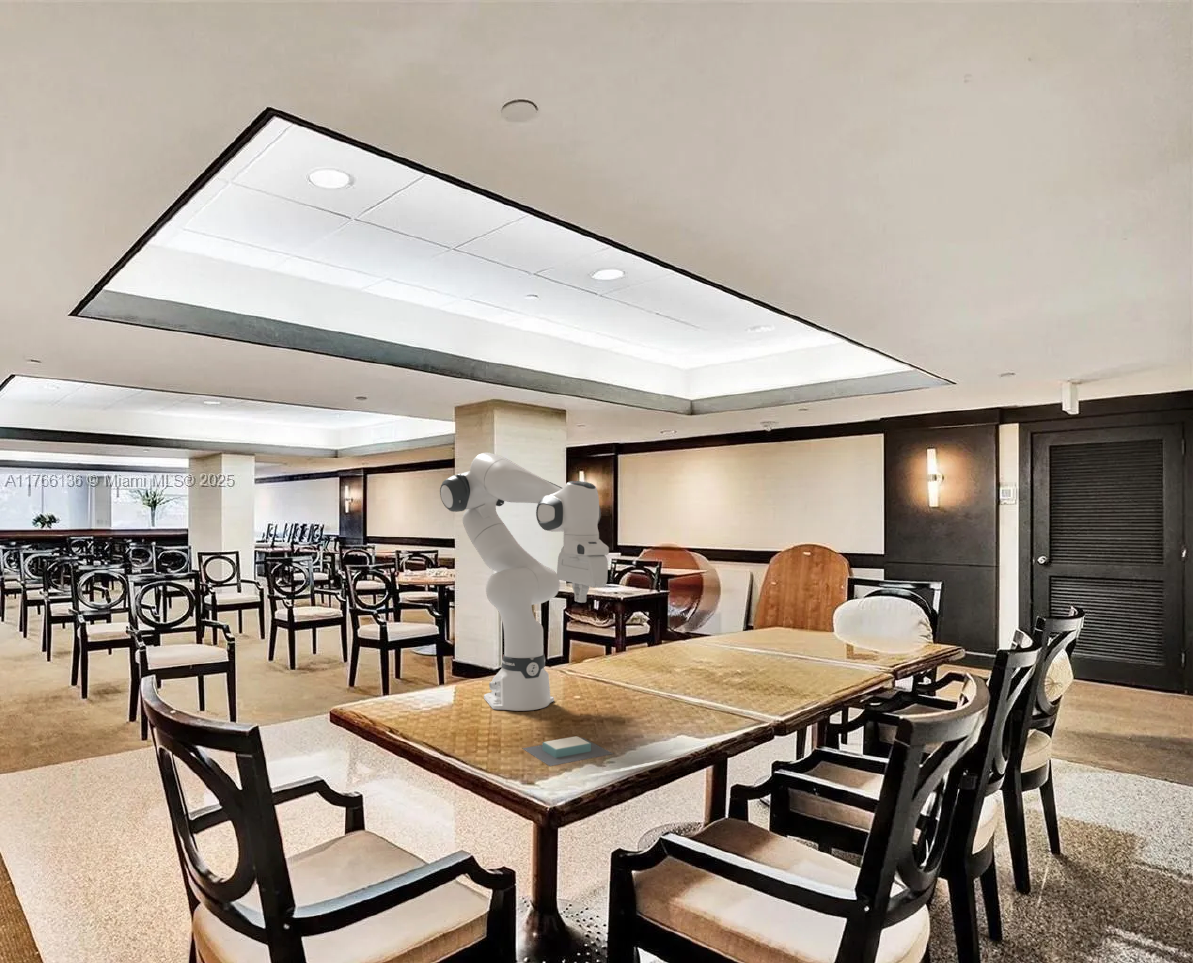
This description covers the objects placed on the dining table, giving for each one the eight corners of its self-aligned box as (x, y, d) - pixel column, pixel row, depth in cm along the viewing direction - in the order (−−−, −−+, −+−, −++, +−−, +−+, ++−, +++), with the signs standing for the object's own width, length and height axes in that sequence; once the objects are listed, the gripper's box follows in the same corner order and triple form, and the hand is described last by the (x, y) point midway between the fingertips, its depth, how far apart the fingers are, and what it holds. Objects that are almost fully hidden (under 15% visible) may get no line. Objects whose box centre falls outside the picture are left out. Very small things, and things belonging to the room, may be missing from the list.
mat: (522, 751, 174) (522, 748, 174) (583, 740, 182) (583, 737, 182) (549, 768, 162) (549, 766, 162) (613, 756, 170) (613, 753, 170)
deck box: (542, 741, 173) (555, 749, 167) (577, 735, 177) (591, 743, 172) (542, 750, 173) (555, 758, 167) (577, 743, 177) (591, 751, 172)
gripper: (551, 544, 197) (550, 597, 196) (589, 548, 179) (588, 607, 179) (572, 543, 200) (572, 596, 199) (612, 548, 182) (611, 606, 182)
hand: (580, 601), depth 189 cm, fingers closed
